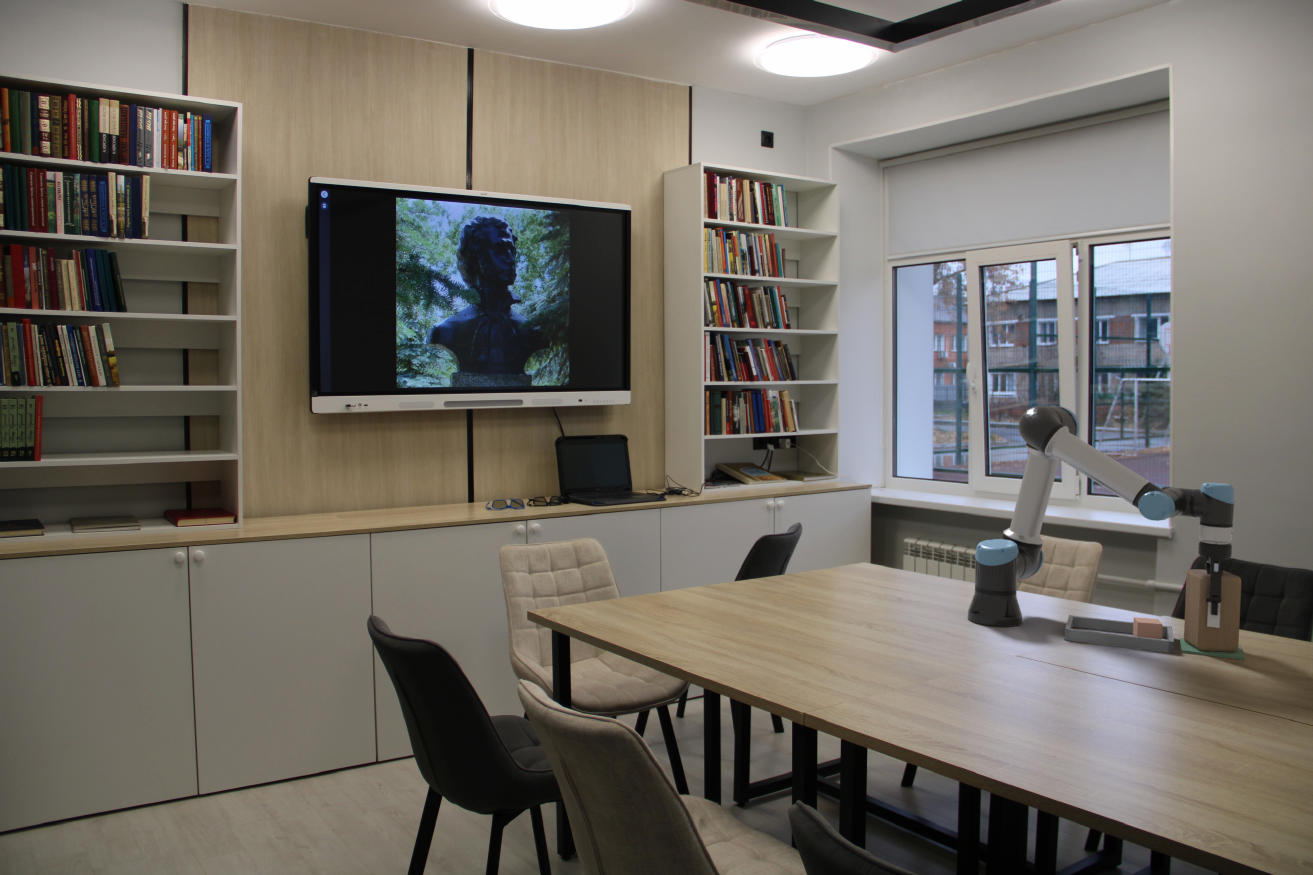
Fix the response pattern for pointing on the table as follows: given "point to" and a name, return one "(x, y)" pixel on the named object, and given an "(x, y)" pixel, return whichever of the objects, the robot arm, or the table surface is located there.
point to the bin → (1116, 638)
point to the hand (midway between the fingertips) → (1211, 621)
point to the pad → (1190, 649)
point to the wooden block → (1198, 612)
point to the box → (1147, 628)
